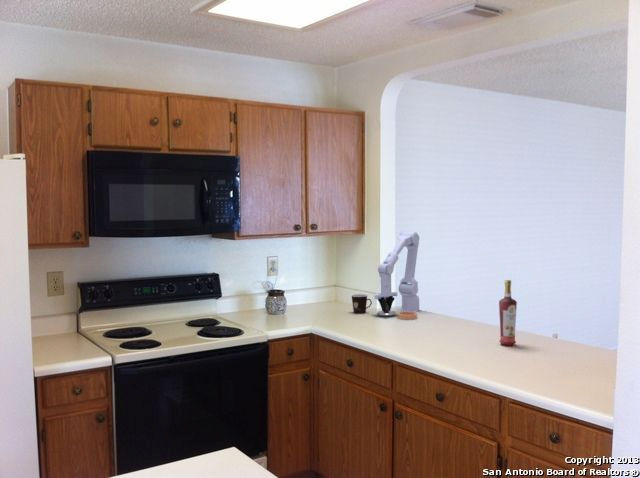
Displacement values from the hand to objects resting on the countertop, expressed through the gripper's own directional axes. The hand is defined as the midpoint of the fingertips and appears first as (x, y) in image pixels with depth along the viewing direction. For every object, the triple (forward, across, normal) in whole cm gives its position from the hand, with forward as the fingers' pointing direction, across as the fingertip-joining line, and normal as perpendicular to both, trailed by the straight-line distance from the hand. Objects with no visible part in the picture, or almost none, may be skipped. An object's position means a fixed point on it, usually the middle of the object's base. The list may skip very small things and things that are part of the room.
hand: (386, 310), depth 335 cm
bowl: (+3, -4, +12) cm, 13 cm away
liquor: (+3, 0, +79) cm, 79 cm away
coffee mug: (+3, +6, -14) cm, 16 cm away
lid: (+2, 0, 0) cm, 2 cm away
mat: (+3, 0, 0) cm, 3 cm away
